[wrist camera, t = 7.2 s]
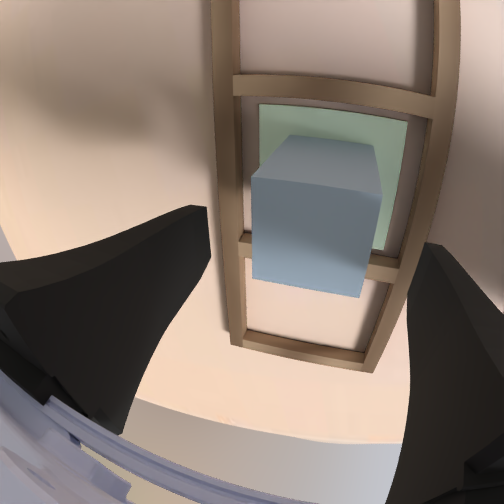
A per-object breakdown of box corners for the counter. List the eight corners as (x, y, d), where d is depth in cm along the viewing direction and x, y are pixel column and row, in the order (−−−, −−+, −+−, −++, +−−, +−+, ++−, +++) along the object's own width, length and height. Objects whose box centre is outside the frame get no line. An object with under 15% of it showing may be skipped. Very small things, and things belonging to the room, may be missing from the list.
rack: (447, -54, 6) (453, -61, 5) (373, 362, 21) (372, 373, 20) (219, -67, 9) (210, -73, 8) (235, 335, 24) (230, 344, 23)
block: (373, 145, 13) (382, 195, 8) (362, 220, 15) (359, 297, 11) (289, 134, 14) (251, 176, 9) (286, 208, 16) (252, 278, 12)
